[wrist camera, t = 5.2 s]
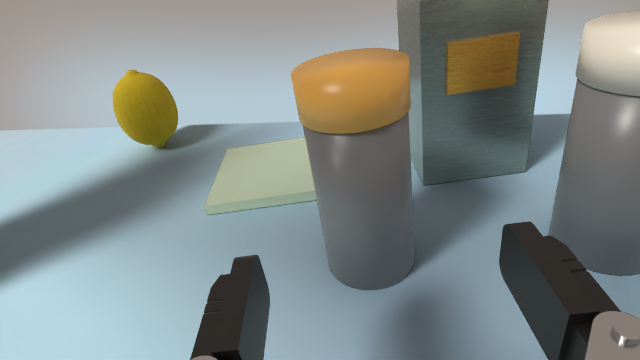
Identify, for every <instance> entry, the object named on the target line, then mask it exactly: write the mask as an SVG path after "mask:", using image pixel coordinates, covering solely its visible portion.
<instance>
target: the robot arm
mask: <svg viewBox="0 0 640 360" xmlns="http://www.w3.org/2000/svg"><path fill="white" fill-rule="evenodd" d="M499 264H500V270H501V274H502V277H503V279H504V281H505V283H506V284H507V286H508V288H509V290H510V292H511V293H512V295H513V297H514V299H515V301H516V302H517V304H518V306H519V308H520V310H521V311H522V313H523V315H524V317H525V319H526V320H527V322H528V324H529V326H530V328H531V329H532V331H533V333H534V335H535V337H536V338H537V340H538V342H539V344H540V346H541V347H542V349H543V351H544V353H545V355H546V356H547V358H548V360H640V319H639V318H637V317H635V316H633V315H630V314H627V313H623V312H621V311H620V310H619V309H618V307H617V306H616V305H615V304H614V302H613V301H612V300H611V299H610V298H609V296H608V295H607V294H606V293H605V291H604V290H603V289H602V288H601V287H600V285H599V284H598V283H597V282H596V280H595V279H594V278H593V277H592V276H591V274H590V273H589V272H587V271H586V268H585V267H584V266H583V265H582V263H581V262H580V261H578V260H577V257H576V256H575V255H574V254H573V252H572V251H571V250H570V249H569V248H568V246H567V245H565V244H564V243H562V242H560V241H559V240H557V239H556V238H554V237H553V236H542V235H541V233H540V232H539V231H538V229H537V228H536V227H535V225H534V224H533V223H532V222H522V223H514V224H506V225H504V227H503V232H502V241H501V250H500V258H499ZM269 306H270V296H269V289H268V285H267V282H266V278H265V275H264V272H263V269H262V265H261V262H260V259H259V257H258V255H252V256H244V257H236V258H235V259H234V261H233V265H232V269H231V273H230V274H226V275H220V277H219V278H218V279H217V281H216V282H215V283H214V284H213V286H212V287H211V290H210V293H209V297H208V300H207V304H206V307H205V310H204V315H203V317H202V321H201V324H200V328H199V331H198V335H197V338H196V342H195V345H194V348H193V352H192V355H191V358H190V360H263V358H264V349H265V341H266V332H267V324H268V315H269Z"/></svg>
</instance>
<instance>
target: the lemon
mask: <svg viewBox="0 0 640 360" xmlns="http://www.w3.org/2000/svg"><path fill="white" fill-rule="evenodd" d="M113 107H114V112H115V115H116V118H117V121H118V123H119V125H120V126H121V128H122V129H123V131H124V132H125V133H126V134H127V135H128V136H129V137H130V138H132V139H133V140H135V141H136V142H139V143H142V144H146V145H153V146H156V147H158V148H161V147H163V146H164V145H165V143H166V141H167V139H169V138H170V137H171V136H172V135H173V134H174V132H175V130H176V128H177V124H178V111H177V107H176V104H175V101H174V99H173V97H172V95H171V93H170V91H169V90H168V88H167V87H166V86H165V85H164V84H163V83H162V82H161V81H160V80H159V79H158V78H156V77H154V76H152V75H150V74H146V73H140V72H137V71H135V70H129V71H128V72H127V73H126V76H125V77H123V78H122V79H121V80H120V81H119V82H118V83H117V85H116V86H115V88H114V91H113Z"/></svg>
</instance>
